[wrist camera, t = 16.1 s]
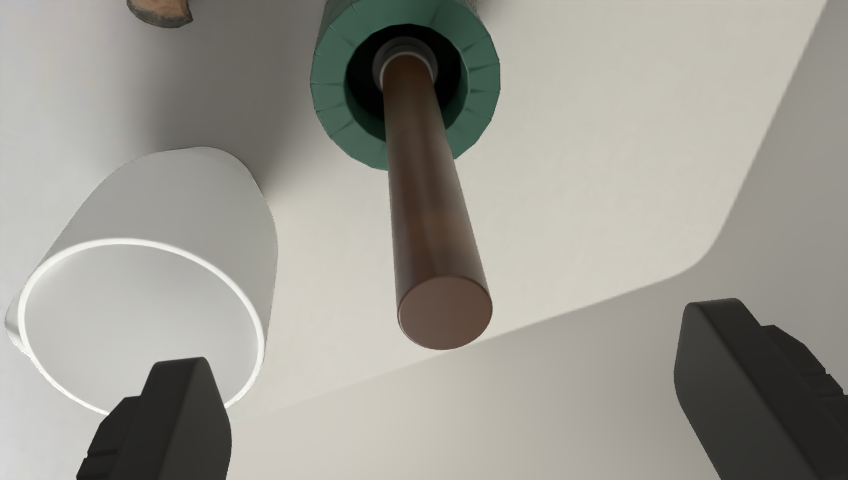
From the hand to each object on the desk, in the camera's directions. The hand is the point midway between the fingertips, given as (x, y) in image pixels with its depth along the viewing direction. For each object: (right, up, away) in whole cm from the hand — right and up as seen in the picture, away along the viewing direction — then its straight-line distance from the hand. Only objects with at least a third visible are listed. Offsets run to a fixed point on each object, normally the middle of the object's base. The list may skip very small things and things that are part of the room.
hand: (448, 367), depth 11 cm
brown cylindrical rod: (-2, +12, +19) cm, 22 cm away
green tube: (-2, +12, +19) cm, 23 cm away
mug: (-13, +4, +23) cm, 27 cm away
